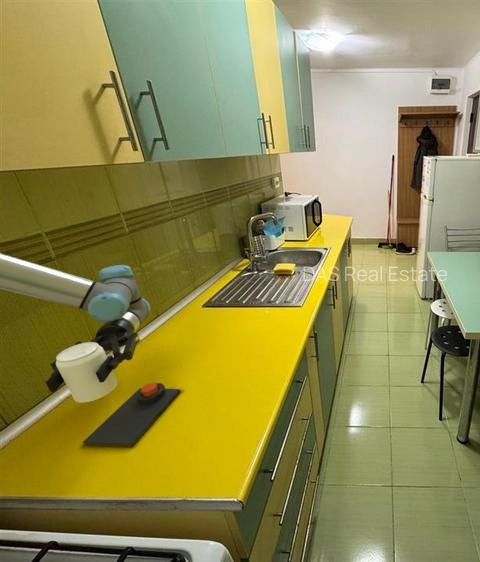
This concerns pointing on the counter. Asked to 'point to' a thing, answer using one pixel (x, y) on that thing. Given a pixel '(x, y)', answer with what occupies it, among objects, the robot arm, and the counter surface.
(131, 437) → the warming base
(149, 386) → the button
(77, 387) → the beverage can
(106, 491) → the counter surface
